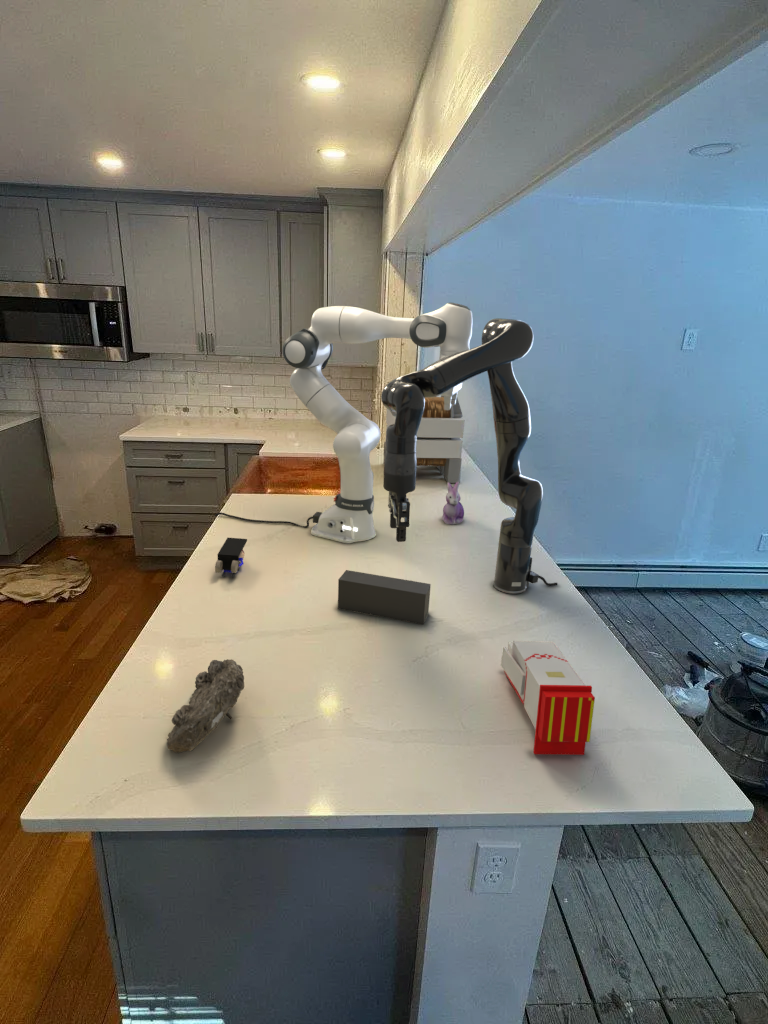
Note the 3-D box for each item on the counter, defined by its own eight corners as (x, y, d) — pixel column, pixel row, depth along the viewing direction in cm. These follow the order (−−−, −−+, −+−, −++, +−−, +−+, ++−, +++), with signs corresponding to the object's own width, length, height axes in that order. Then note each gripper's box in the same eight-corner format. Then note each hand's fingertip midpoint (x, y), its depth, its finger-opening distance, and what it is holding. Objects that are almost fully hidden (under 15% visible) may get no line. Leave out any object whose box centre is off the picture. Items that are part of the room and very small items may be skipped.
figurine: (449, 526, 208) (453, 487, 203) (434, 517, 216) (437, 480, 211) (470, 523, 212) (474, 485, 207) (455, 514, 221) (458, 477, 216)
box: (337, 608, 149) (338, 579, 146) (345, 598, 154) (346, 569, 151) (423, 624, 143) (425, 594, 140) (428, 613, 149) (430, 583, 146)
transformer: (382, 463, 289) (386, 382, 275) (445, 464, 293) (451, 384, 279) (390, 482, 257) (394, 392, 243) (460, 483, 261) (468, 394, 247)
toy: (549, 624, 127) (604, 693, 98) (544, 678, 130) (596, 762, 100) (496, 622, 127) (535, 692, 97) (491, 677, 129) (528, 761, 100)
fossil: (192, 660, 117) (244, 628, 112) (224, 691, 120) (276, 661, 115) (142, 746, 98) (202, 712, 93) (182, 779, 101) (242, 748, 96)
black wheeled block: (238, 584, 162) (249, 557, 175) (236, 562, 158) (247, 536, 172) (215, 584, 161) (227, 556, 175) (212, 561, 158) (225, 535, 171)
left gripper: (449, 357, 179) (445, 401, 184) (437, 362, 160) (433, 411, 165) (469, 359, 178) (464, 403, 182) (459, 364, 159) (454, 413, 164)
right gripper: (422, 478, 125) (419, 545, 131) (409, 461, 138) (407, 522, 144) (389, 479, 124) (386, 546, 129) (379, 461, 137) (377, 523, 143)
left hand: (449, 407), depth 174 cm, fingers open, 8 cm apart
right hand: (397, 534), depth 137 cm, fingers open, 8 cm apart
